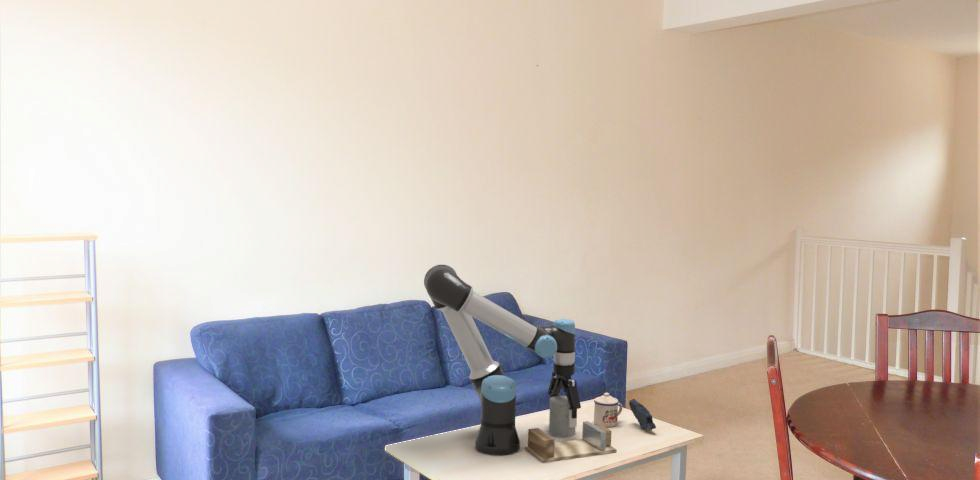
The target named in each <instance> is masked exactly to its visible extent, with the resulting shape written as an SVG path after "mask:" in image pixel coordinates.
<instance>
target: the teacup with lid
mask: <svg viewBox="0 0 980 480" xmlns="http://www.w3.org/2000/svg"><path fill="white" fill-rule="evenodd" d="M593 402H594V407H593V408H594V413H593V414H594V415H593V416H594V417H593V423H594V425H595V426H601V425H603V426H604V427H606V428H612V427H616V426H617V425H618V416H619V415H621V413H622V412H623V404H622V403H620V402H619V400H618V398H616V397H613V396H612V395H610V393H609V392H604V393H603V395H601V396H598V397H595V398H594V400H593ZM618 409H619V410H618Z"/></svg>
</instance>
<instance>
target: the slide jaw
mask: <svg viewBox="0 0 980 480" xmlns="http://www.w3.org/2000/svg"><path fill="white" fill-rule="evenodd" d="M581 439H584V440H585V441H587V442H588V443H590V444H592V445H593V446H595V447H596V448H598V449H599V450H605V449H606V446H608V445H610V446H612V430H611V429H610V428H609V427H604V426H603V425H601V426H598V425H596V424H595V423H594V424H593V422H590V421H588V420H585V421H582V437H581Z"/></svg>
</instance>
